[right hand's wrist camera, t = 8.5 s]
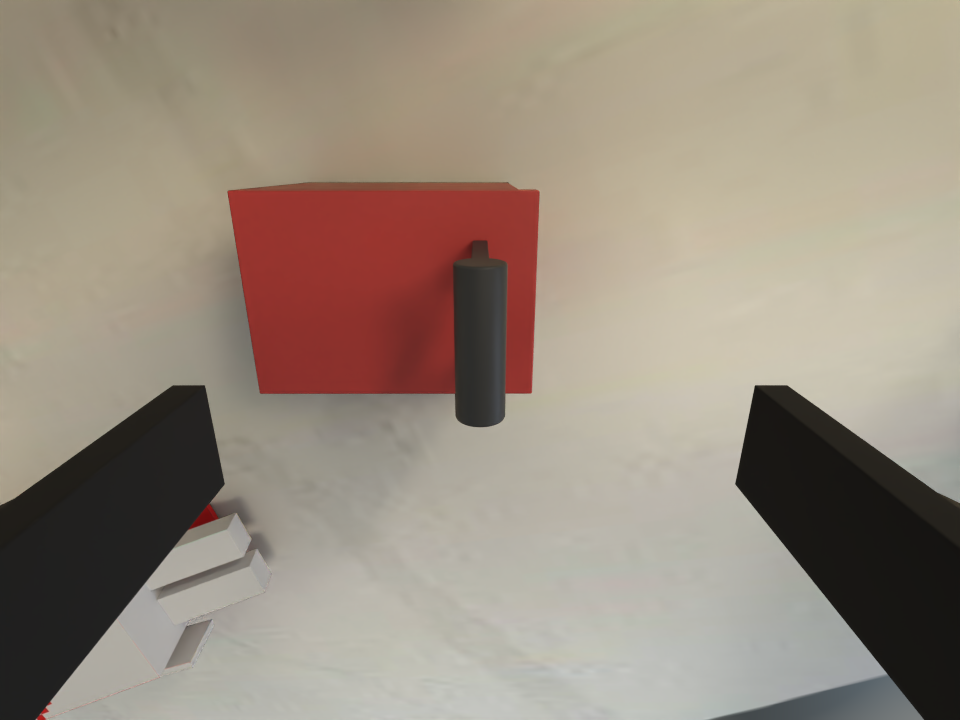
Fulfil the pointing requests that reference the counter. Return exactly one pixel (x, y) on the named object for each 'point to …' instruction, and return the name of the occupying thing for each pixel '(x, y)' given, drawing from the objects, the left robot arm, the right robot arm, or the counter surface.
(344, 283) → the lid
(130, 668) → the toy
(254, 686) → the counter surface
